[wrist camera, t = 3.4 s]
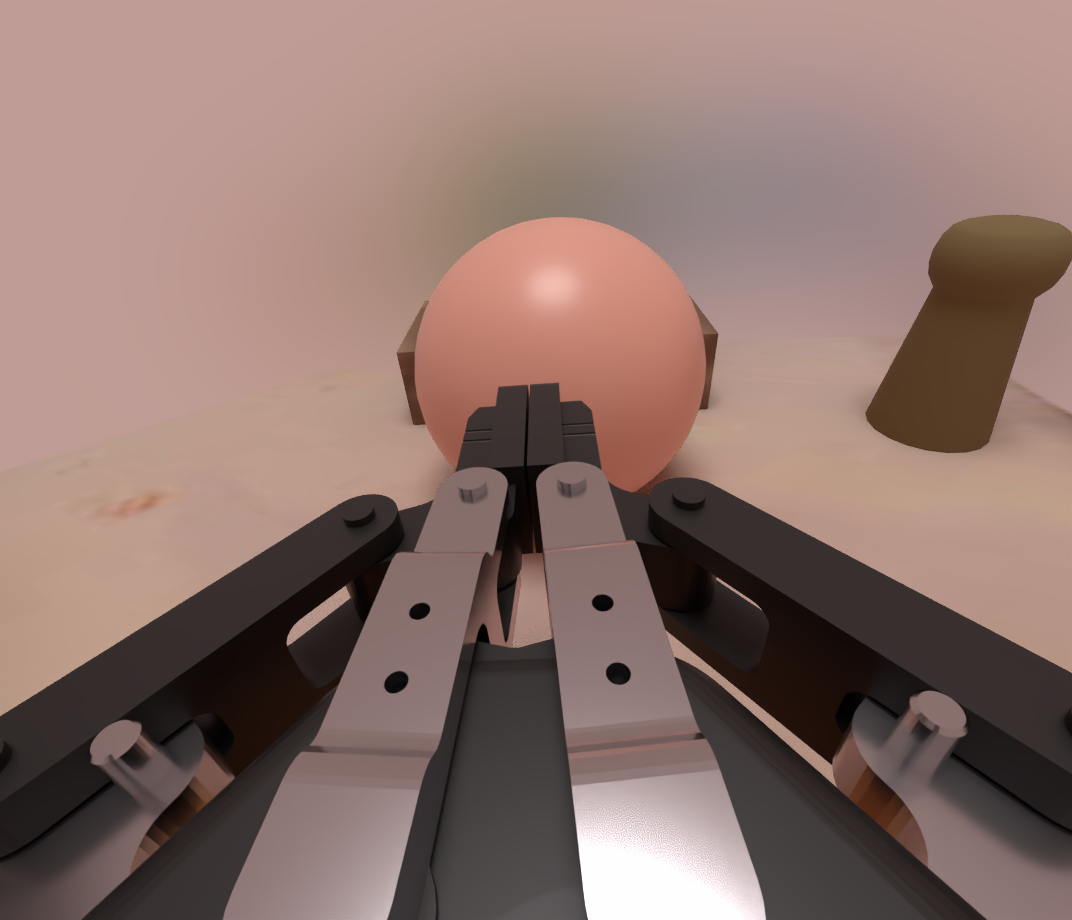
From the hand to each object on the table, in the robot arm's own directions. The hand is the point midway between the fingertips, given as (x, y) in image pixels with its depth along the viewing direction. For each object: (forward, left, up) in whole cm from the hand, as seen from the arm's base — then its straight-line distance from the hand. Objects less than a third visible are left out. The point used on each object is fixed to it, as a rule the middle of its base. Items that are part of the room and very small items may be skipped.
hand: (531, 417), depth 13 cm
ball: (+1, +11, -4) cm, 11 cm away
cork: (+22, +15, -11) cm, 29 cm away
